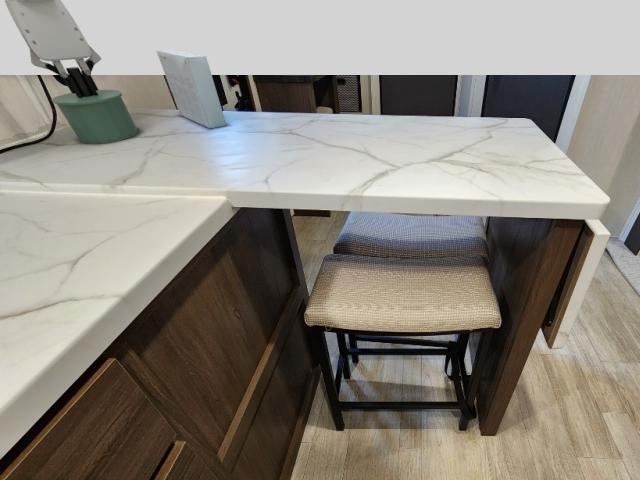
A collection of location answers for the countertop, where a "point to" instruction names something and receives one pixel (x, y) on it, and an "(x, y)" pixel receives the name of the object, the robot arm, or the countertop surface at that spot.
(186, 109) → the skincare box
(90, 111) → the tin
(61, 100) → the tin lid
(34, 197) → the countertop surface
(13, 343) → the countertop surface
